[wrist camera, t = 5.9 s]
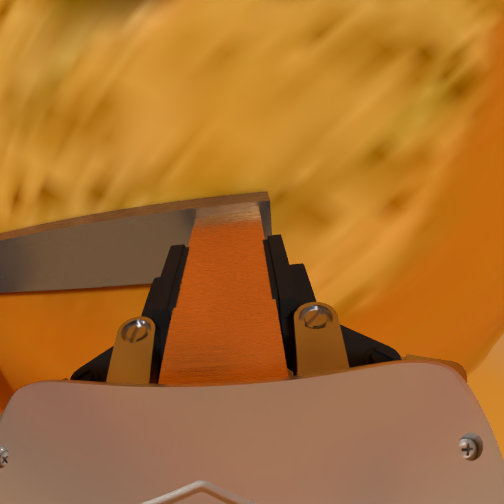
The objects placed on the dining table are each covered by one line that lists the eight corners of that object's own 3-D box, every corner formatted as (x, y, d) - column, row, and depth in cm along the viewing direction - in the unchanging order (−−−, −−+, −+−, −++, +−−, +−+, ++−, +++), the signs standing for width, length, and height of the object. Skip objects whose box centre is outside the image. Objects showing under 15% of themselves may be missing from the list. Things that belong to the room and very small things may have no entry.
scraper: (267, 191, 15) (321, 401, 5) (271, 259, 17) (307, 461, 7) (-40, 244, 15) (-118, 337, 5) (-21, 285, 17) (-86, 382, 7)
